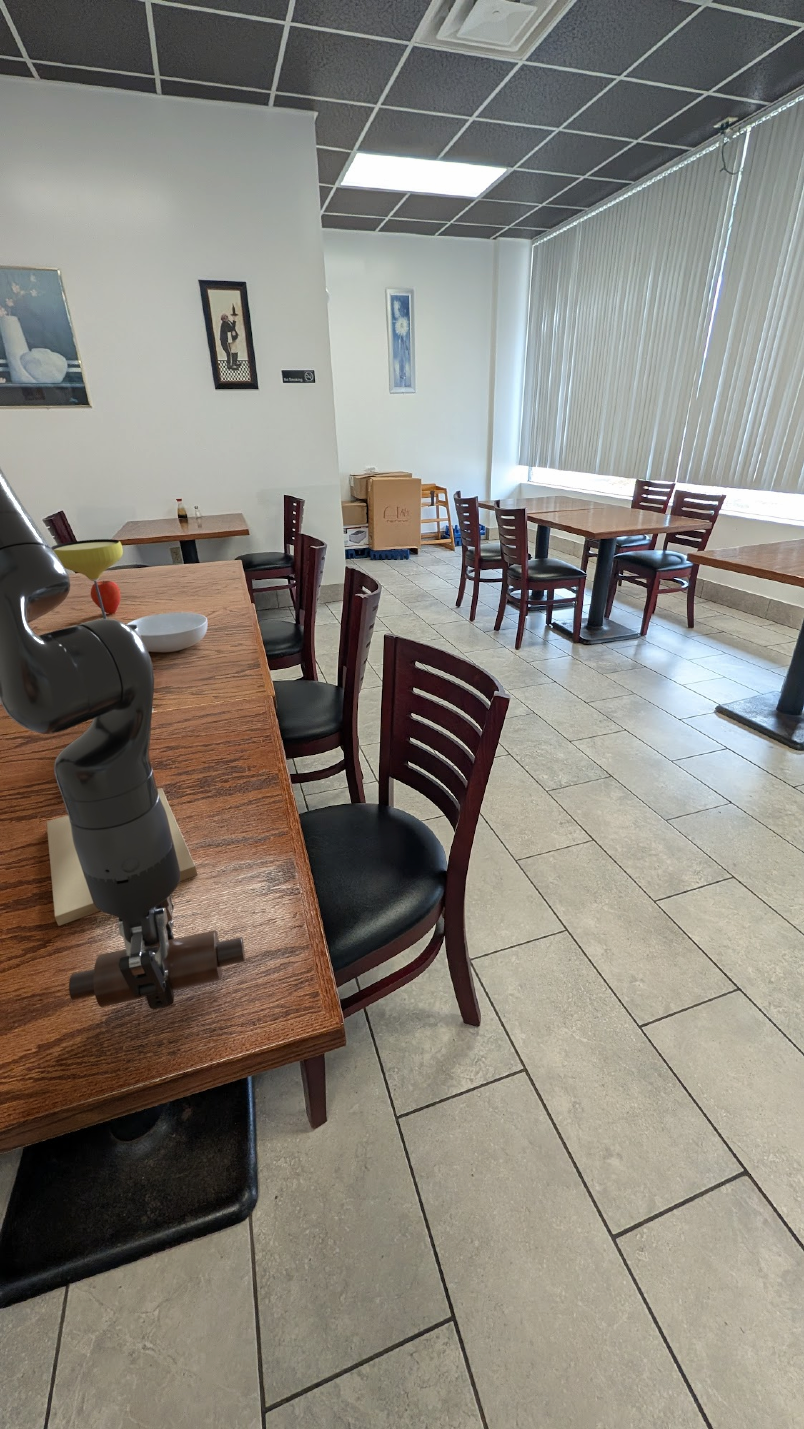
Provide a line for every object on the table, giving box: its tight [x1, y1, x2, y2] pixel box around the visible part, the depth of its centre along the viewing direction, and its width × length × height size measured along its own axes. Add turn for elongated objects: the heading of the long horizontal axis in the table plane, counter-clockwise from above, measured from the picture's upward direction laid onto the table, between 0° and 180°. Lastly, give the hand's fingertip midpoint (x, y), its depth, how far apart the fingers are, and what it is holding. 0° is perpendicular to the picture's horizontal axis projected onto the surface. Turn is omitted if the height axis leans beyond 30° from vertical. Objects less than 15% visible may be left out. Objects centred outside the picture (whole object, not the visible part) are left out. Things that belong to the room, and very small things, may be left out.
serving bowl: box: [125, 611, 208, 653], centre depth 157 cm, size 21×21×7 cm
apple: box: [90, 580, 121, 614], centre depth 188 cm, size 9×8×11 cm
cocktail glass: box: [51, 538, 124, 619], centre depth 168 cm, size 18×18×25 cm
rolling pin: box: [68, 929, 246, 1008], centre depth 58 cm, size 16×5×5 cm, turn 106°
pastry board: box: [46, 787, 198, 927], centre depth 80 cm, size 16×22×2 cm
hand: (165, 981), depth 59 cm, fingers closed on rolling pin, 5 cm apart
